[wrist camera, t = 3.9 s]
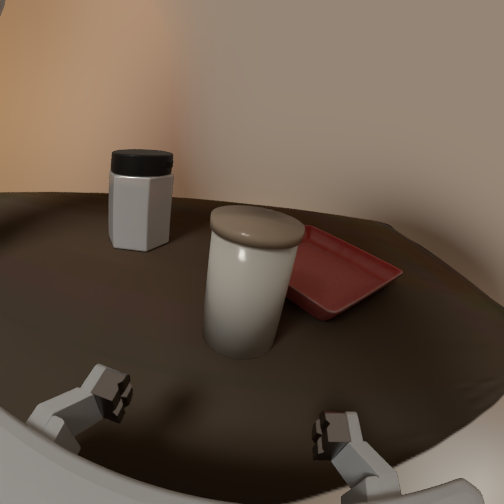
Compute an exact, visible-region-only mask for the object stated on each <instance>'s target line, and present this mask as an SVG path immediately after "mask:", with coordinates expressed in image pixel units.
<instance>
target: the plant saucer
mask: <svg viewBox="0 0 504 504" xmlns="http://www.w3.org/2000/svg"><path fill="white" fill-rule="evenodd" d="M304 227H305V231H304V236H303V240H302V243H301V244H300V245H298V248H297V253H296V257H295V261H294V265H293V269H292V273H291V277H290V281H289V285H288V289H287V293H286V298H288V299H289V300H290V301H292V302H293V303H295V304H296V305H297V306H299V307H300V308H302V309H303V310H305V311H306V312H307V313H309V314H310V315H312V316H313V317H315V318H316V319H318V320H320V321H326V320H329V319H331V318H333V317H335V316H336V315H338V314H340V313H342V312H344V311H345V310H347V309H349V308H350V307H352V306H354V305H355V304H357V303H359V302H360V301H362V300H364V299H365V298H367V297H369V296H370V295H372V294H374V293H375V292H377V291H378V290H380V289H382V288H383V287H385V286H386V285H388V284H389V283H391V282H392V281H394V280H395V279H397V278H398V277H399V276H400V275H401V274H402V273H403V272H402V271H401V270H400V269H398V268H396V267H394V266H392V265H391V264H389V263H387V262H385V261H383V260H381V259H379V258H377V257H375V256H373V255H371V254H369V253H367V252H365V251H363V250H361V249H359V248H357V247H355V246H353V245H351V244H349V243H347V242H345V241H343V240H341V239H339V238H337V237H335V236H333V235H331V234H329V233H326V232H324V231H322V230H320V229H318V228H316V227H314V226H310V225H304Z"/></svg>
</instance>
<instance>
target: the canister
mask: <svg viewBox="0 0 504 504" xmlns="http://www.w3.org/2000/svg"><path fill="white" fill-rule="evenodd" d="M210 228H211V230H212V235H211V244H210V253H209V263H208V273H207V283H206V294H205V305H204V317H203V330H202V334H203V338H204V340H205V342H206V343H207V345H208V346H209V347H210V348H211V349H213V350H214V351H216V352H217V353H219V354H221V355H224V356H226V357H230V358H234V359H252V358H256V357H259V356H262V355H264V354H265V353H267V352H268V351H269V350H270V349H271V347H272V345H273V342H274V339H275V335H276V331H277V328H278V324H279V320H280V316H281V313H282V309H283V305H284V301H285V297H286V293H287V289H288V285H289V281H290V277H291V273H292V269H293V265H294V261H295V257H296V253H297V248H298V245H300V244H301V243H302V240H303V236H304V231H305V227H304V225H303V224H302V223H301V222H300V221H298V220H297V219H295V218H293V217H291V216H289V215H286V214H284V213H281V212H277V211H274V210H270V209H265V208H260V207H253V206H242V205H230V206H222V207H218V208H216V209H214V210H213V211H212V212H211V218H210Z"/></svg>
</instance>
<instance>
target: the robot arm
mask: <svg viewBox="0 0 504 504" xmlns="http://www.w3.org/2000/svg"><path fill="white" fill-rule="evenodd" d="M4 4H5V0H0V15H1V13H2V10H3V8H4ZM130 380H131V379H130V375H128V374H125V373H122V372H119V371H117V370H114V369H111V368H109V367H106V366H103V365H101V364H97V365H96V366H95V367H94V368H93V370H92V371H91V373H90V374H89V376H88V377H87V379H86V380H85V382H84V383H83V385H82V386H81V388H78V387H77V388H75V389H73V390H71V391H68V392H66V393H64V394H62V395H59V396H57V397H55V398H52V399H50V400H48V401H45V402H43V403H41V404H38V405H37V407H36V408H35V410H34V411H33V413H32V414H31V416H30V417H29V419H28V420H27V422H26V423H25V424H24V423H23V422H21V421H20V420H18V419H17V418H16V417H14V416H13V415H11V414H10V413H9V412H7V411H6V410H5V409H3V408H2V407H1V406H0V504H241V503H233V502H226V501H219V500H213V499H208V498H202V497H198V496H193V495H188V494H184V493H180V492H176V491H172V490H168V489H165V488H161V487H158V486H154V485H151V484H148V483H145V482H142V481H139V480H136V479H133V478H130V477H128V476H125V475H122V474H120V473H117V472H114V471H112V470H110V469H107V468H105V467H102V466H100V465H98V464H96V463H93V462H91V461H89V460H87V459H85V458H83V457H81V456H79V455H78V453H79V451H80V449H81V447H80V445H79V443H78V442H77V440H76V439H75V436H77V435H78V434H80V433H81V432H83V431H85V430H86V429H88V428H89V427H91V426H92V425H94V424H96V423H97V422H99V421H100V420H102V419H103V418H105V419H108V420H111V421H114V422H116V423H119V424H120V423H121V421H122V419H123V417H124V414H125V410H124V407H126V406H128V405H129V404H130V402H131V399H132V395H133V389H132V386H131V385H130V384H129V382H130ZM319 418H320V419H318V420H316V421H315V423H314V425H313V428H312V440H313V441H314V443H315V445H314V446H313V448H312V450H313V460H327V461H331V462H332V463H333V465H334V466H335V468H336V469H337V470H338V472H339V473H340V474H341V476H342V477H343V479H344V480H345V481H346V483H347V484H348V485H349V487H350V488H351V490H349V491H348V492H346V493H345V494H344V495H342V496H341V504H484V500H483V497H482V494H481V492H480V491H479V490H478V489H477V488H476V487H475V486H473V485H472V484H471V483H470V482H468V481H467V480H465V479H463V478H459V479H455V480H453V481H450V482H447V483H444V484H441V485H438V486H435V487H431V488H428V489H424V490H421V491H417V492H413V493H409V494H405V495H401V490H400V485H399V480H398V476H397V472H396V471H395V470H394V469H393V468H392V467H391V466H390V465H389V464H388V463H387V462H386V461H385V460H384V459H383V458H382V457H381V456H380V455H379V454H378V453H377V452H376V451H375V450H374V449H373V448H372V447H371V446H370V445H369V444H368V443H367V442H363V438H362V434H361V429H360V424H359V420H358V415H357V413H356V412H344V411H322V412H321V413H320V415H319Z"/></svg>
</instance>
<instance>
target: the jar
mask: <svg viewBox="0 0 504 504" xmlns="http://www.w3.org/2000/svg"><path fill="white" fill-rule="evenodd" d="M172 167H173V154H172V153H170V152H165V151H158V150H143V149H141V150H140V149H130V150H129V149H128V150H117V151H113V152H112V159H111V170H110V175H109V236H110V239H111V242H112V244H113V247H114V248H118V249H126V250H135V251H143V252H147V251H149V250H151V249H154V248H156V247H158V246H160V245H163V244H165V243H167V242H169V229H170V215H171V202H172V190H173V180H174V175H173V174H171V171H172V170H171V169H172Z"/></svg>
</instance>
